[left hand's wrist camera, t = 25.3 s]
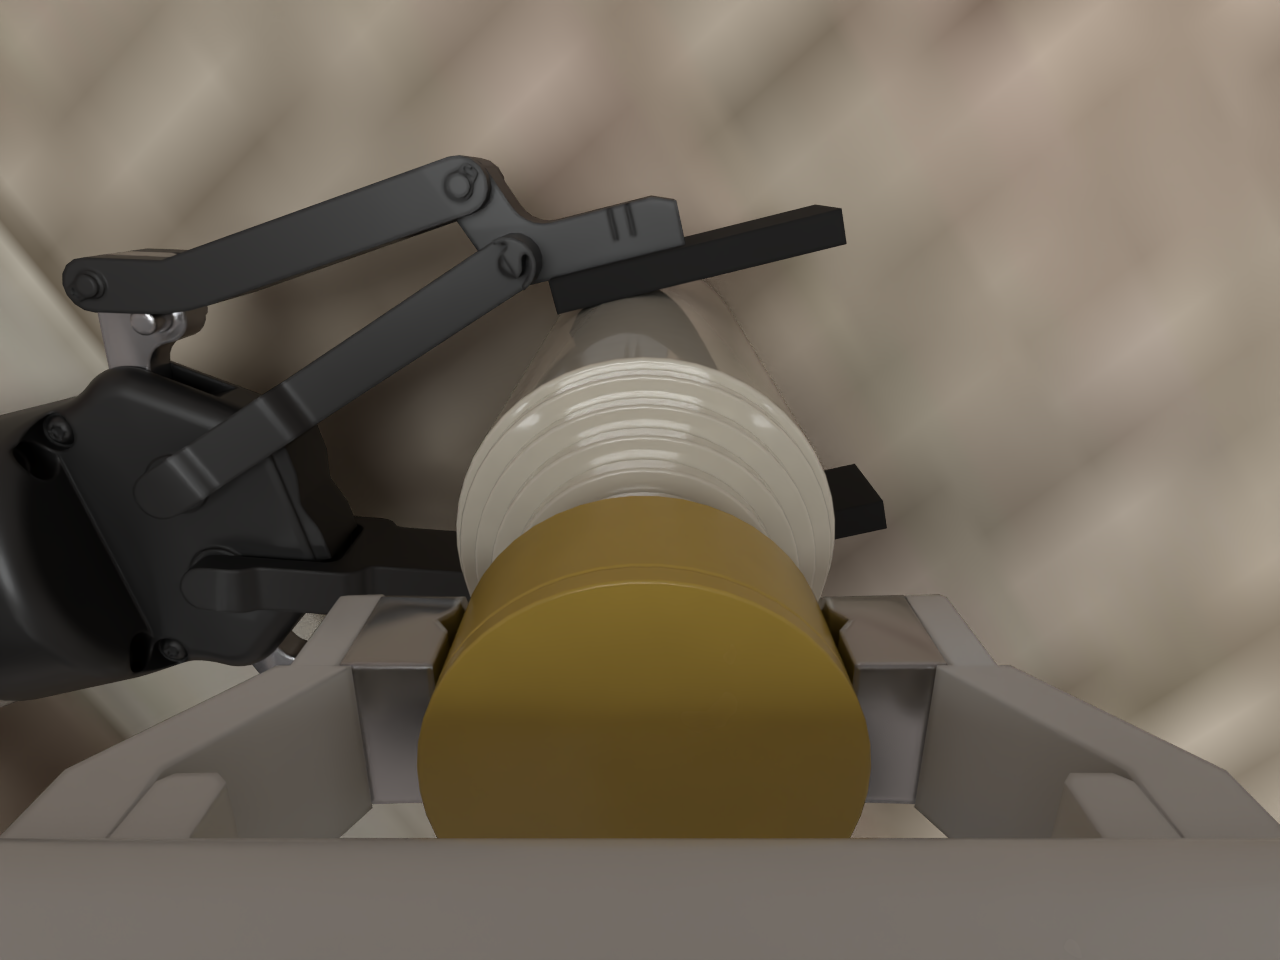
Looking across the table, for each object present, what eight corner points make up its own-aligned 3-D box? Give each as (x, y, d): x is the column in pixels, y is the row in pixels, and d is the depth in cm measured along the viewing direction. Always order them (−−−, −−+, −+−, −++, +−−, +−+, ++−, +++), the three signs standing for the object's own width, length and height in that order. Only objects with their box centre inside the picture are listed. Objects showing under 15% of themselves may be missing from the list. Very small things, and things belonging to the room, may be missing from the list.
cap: (898, 678, 10) (961, 799, 8) (627, 859, 11) (624, 1004, 9) (664, 415, 9) (671, 483, 7) (382, 648, 10) (319, 764, 8)
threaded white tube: (745, 260, 24) (971, 462, 7) (739, 450, 27) (900, 939, 10) (545, 263, 25) (312, 469, 8) (555, 452, 27) (395, 941, 10)
